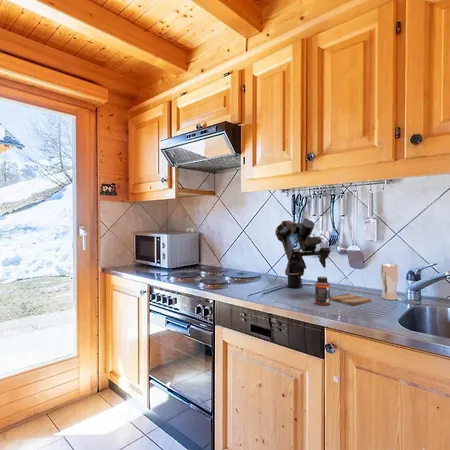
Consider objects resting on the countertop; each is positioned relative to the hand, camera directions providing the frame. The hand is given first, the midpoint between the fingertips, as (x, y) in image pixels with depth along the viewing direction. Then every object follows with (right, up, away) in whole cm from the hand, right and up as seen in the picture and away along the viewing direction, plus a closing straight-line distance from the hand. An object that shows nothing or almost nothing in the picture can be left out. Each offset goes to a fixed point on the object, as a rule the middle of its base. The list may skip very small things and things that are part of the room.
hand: (315, 267), depth 138 cm
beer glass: (+33, -14, -1) cm, 36 cm away
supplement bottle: (+1, -14, -8) cm, 16 cm away
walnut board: (+14, -14, -4) cm, 20 cm away
